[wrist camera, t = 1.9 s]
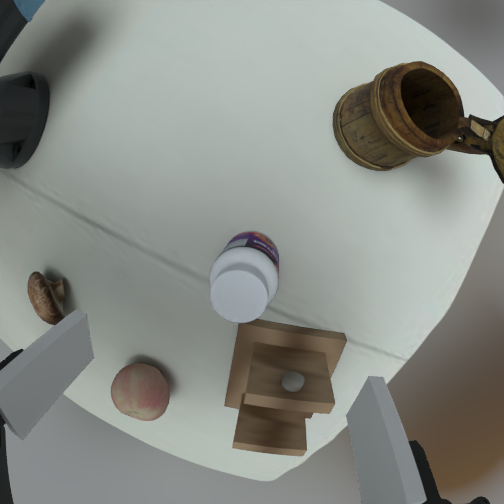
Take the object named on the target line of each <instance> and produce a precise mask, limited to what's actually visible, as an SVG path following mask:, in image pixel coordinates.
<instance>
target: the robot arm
mask: <svg viewBox="0 0 504 504" xmlns="http://www.w3.org/2000/svg"><path fill="white" fill-rule="evenodd" d="M44 1H45V0H0V63H1V61H2V59H3V58H4V56H5V54H6V53H7V51H8V50H9V48H10V47H11V45H12V44H13V42H14V41H15V39H16V38H17V37H18V35H19V34H20V32H21V31H22V30H23V28H24V27H25V26H26V24H27V23H28V22H30V21H31V20H32V18H33V15H34V14H35V13H36V12H37V10H38V9H39V8H40V6H41V5H42V4H43V3H44ZM48 105H49V89H48V84H47V81H46V79H45V78H44V77H43V76H42V75H40V74H37V73H33V72H22V73H16V74H11V75H7V76H2V77H0V168H2V169H10V168H17V167H20V166H21V165H23V164H24V163H25V162H26V161H27V160H28V159H29V157H30V156H31V155H32V153H33V152H34V150H35V148H36V146H37V144H38V142H39V139H40V137H41V134H42V132H43V129H44V125H45V122H46V117H47V112H48ZM93 359H94V355H93V349H92V344H91V338H90V332H89V326H88V319H87V314H85V313H82V312H80V311H77V310H74V311H73V312H72V313H70V314H69V315H68V316H67V317H65V318H64V319H63V320H61V321H60V322H59V323H57V324H56V325H55V326H54V327H52V328H51V329H50V330H49V331H47V332H46V333H45V334H44V335H42V336H41V337H40V338H39V339H37V340H36V341H35V342H34V343H32V344H31V345H30V346H29V347H28V348H26V349H25V350H23V349H20V350H18V351H15V352H13V353H11V354H10V355H9V356H8V357H7V358H6V359H5V360H3V361H2V362H1V363H0V504H14V503H13V499H12V494H11V488H10V482H9V475H8V466H7V456H6V439H5V428H4V426H3V425H4V424H5V423H6V424H7V425H8V427H9V428H10V430H11V431H12V432H13V433H14V434H15V435H17V436H18V437H19V438H20V439H21V440H24V439H25V438H26V436H27V435H28V434H29V433H30V431H31V430H32V429H33V427H34V426H35V425H36V424H37V423H38V422H39V420H40V419H41V418H42V417H43V416H44V414H45V413H46V412H47V411H48V410H49V409H50V407H51V406H52V405H53V404H54V403H55V401H56V400H57V399H58V398H59V397H60V395H62V393H63V392H64V391H65V390H66V389H67V388H68V387H69V385H70V384H71V383H72V382H73V381H74V380H75V379H76V378H77V376H78V375H79V374H80V373H81V372H82V371H83V370H84V369H85V368H86V366H87V365H88V364H89V363H90V362H91V361H92V360H93ZM346 417H347V422H348V427H349V432H350V437H351V442H352V448H353V453H354V459H355V465H356V470H357V476H358V483H359V490H360V495H361V504H452V503H451V502H450V501H448V500H447V499H441V497H440V495H439V493H438V490H437V487H436V484H435V480H434V478H433V475H432V472H431V469H430V468H429V463H428V461H427V460H426V458H427V457H426V455H425V452H424V449H423V448H422V447H421V446H420V444H419V443H418V442H417V441H416V440H415V441H408V439H407V436H406V434H405V431H404V428H403V426H402V423H401V420H400V418H399V415H398V413H397V410H396V407H395V405H394V402H393V400H392V397H391V395H390V392H389V390H388V388H387V385H386V383H385V380H384V378H383V377H375V376H368V378H367V380H366V382H365V384H364V386H363V387H362V389H361V391H360V393H359V395H358V396H357V398H356V400H355V401H354V403H353V405H352V406H351V408H350V410H349V411H348V413H347V415H346ZM468 504H490V502H489V501H488V500H487V499H486V498H485V497H477V498H476V499H474V500H473V501H471V502H470V503H468Z"/></svg>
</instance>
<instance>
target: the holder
mask: <svg viewBox="0 0 504 504" xmlns="http://www.w3.org/2000/svg"><path fill="white" fill-rule="evenodd" d="M346 342H347V339H346V336H345V334H344V333H338V332H331V331H324V330H317V329H311V328H304V327H298V326H292V325H286V324H280V323H275V322H269V321H264V320H258V319H255V320H253V321H250V322H246V323H239V327H238V332H237V338H236V344H235V349H234V355H233V360H232V366H231V371H230V377H229V383H228V388H227V394H226V399H225V405H224V406H226V407H231V408H236V409H239V414H238V419H237V425H236V430H235V435H234V441H233V446H232V448H236V449H241V450H247V451H254V452H261V453H270V454H279V455H290V456H303V455H304V454H305V452H306V451H307V442H306V424H305V418H310V419H311V417H312V415H313V413H327V414H330V412H331V410H332V408H333V407H334V405H335V400H334V394H333V389H332V384H331V376H332V374H333V372H334V370H335V368H336V365H337V363H338V361H339V358H340V356H341V354H342V351H343V349H344V347H345V344H346Z"/></svg>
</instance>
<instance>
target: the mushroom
mask: <svg viewBox="0 0 504 504" xmlns="http://www.w3.org/2000/svg"><path fill="white" fill-rule="evenodd" d="M28 295H29V299H30V301H31V303H32V305H33V307H34V309H35V311H36V313H37V315H38V316H39V317H40V318H41V319H42V320H43V321H45V322H47V323H49V324H52V325H56V324H57V323H59V322H60V321H61V320H63V319H64V317H65V315H64V311H63V306H62V302H63V300H65V291H64V285H63V280H62V278H61V279H60V280H59V281H57V282H51V281H50V280H48V279H46V278H45V277H44V276H43V275H42V274H41V273H40V272H33V273H32V274H31V275H30V277H29V280H28Z"/></svg>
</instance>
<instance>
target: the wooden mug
mask: <svg viewBox="0 0 504 504" xmlns="http://www.w3.org/2000/svg"><path fill="white" fill-rule="evenodd" d="M333 129H334V134H335V138H336V140H337V142H338V144H339V146H340V148H341V149H342V151H343V152H344V153H345V154H346V156H347V157H348V158H349V159H351V160H352V161H354V162H355V163H357V164H358V165H361V166H363V167H366V168H368V169H372V170H376V171H388V170H391V169H395V168H398V167H401V166H403V165H405V164H406V163H408V162H409V161H410V160H412V159H413V158H416V157H429V156H432V155H435V154H439V153H441V152H442V151H444V150H445V149H447V150H452V151H457V152H463V153H468V154H479V155H481V154H487V155H489V156H490V158H491V160H492V164H493V167H494V169H495V170H496V172H497V174H498V176H499V178H500V179H501V181H502V183H503V184H504V116H502V117H500V118H498V119H496V120H495V121H493V122H492V121H488V120H485V119H481V118H478V117H476V116H473V115H471V114H470V115H469V118H466V117H464V110H463V105H462V101H461V97H460V95H459V92H458V90H457V88H456V87H455V85H454V84H453V82H452V81H451V80H450V79H449V78H448V77H447V76H446V75H445V74H444V73H443V72H441V71H440V70H438V69H437V68H436V67H434V66H432V65H430V64H427V63H425V62H422V61H418V62H411V63H401V64H399V65H396V66H393V67H390V68H387V69H385V70H383V71H382V72H381V73H379V74H378V75H376V77H375V79H374V81H372V82H370V83H367V84H362V85H360V86H358V87H355V88H352V89H350V90H349V91H348V92H346V93H345V94H344V95H343V96H342V97H341V99H340V100H339V101H338V103H337V105H336V108H335V110H334V113H333ZM459 137H460V138H461V139H459Z"/></svg>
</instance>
